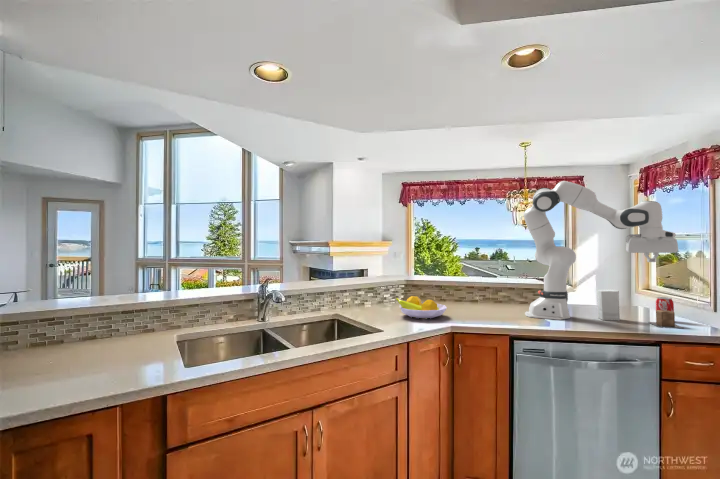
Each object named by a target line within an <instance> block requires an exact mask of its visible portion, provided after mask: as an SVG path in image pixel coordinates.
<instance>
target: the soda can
mask: <svg viewBox="0 0 720 479" xmlns="http://www.w3.org/2000/svg"><path fill="white" fill-rule="evenodd" d="M674 304H675V303H674V300H673V298H672V297H665V296H657V297H656V300H655V311H656V310H668V311H672V312H674V313H675V309H674V307H675V305H674Z"/></svg>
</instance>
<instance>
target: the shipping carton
mask: <svg viewBox="0 0 720 479" xmlns="http://www.w3.org/2000/svg"><path fill="white" fill-rule="evenodd" d="M675 316H676V315H675V311H674V312H672V311H668V310H656V309H655V320H656V321H655V322H656V323H657V324H659V325H661V326H675V324H676V322H675V320H676V318H675Z"/></svg>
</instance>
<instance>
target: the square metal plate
mask: <svg viewBox="0 0 720 479" xmlns="http://www.w3.org/2000/svg"><path fill="white" fill-rule="evenodd" d="M648 324H651V325H653V326H654V327H657V328H663V327H665V328H666V329H668V328H669V329H681V330H682V329H685V327H683V326H680V325H678V324H676V323H675V326H661V325H659V324H657V323H656V321H653V322H652V321H648Z"/></svg>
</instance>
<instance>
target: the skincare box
mask: <svg viewBox="0 0 720 479" xmlns="http://www.w3.org/2000/svg"><path fill="white" fill-rule="evenodd" d="M596 291H597V295H596V296H597V297H596V298H597V318H598V319H600V320H601V321H617V322H618V321H619V322H620V320H621V318H620V314H621V313H620V292H619V290H617V289H596Z"/></svg>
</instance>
